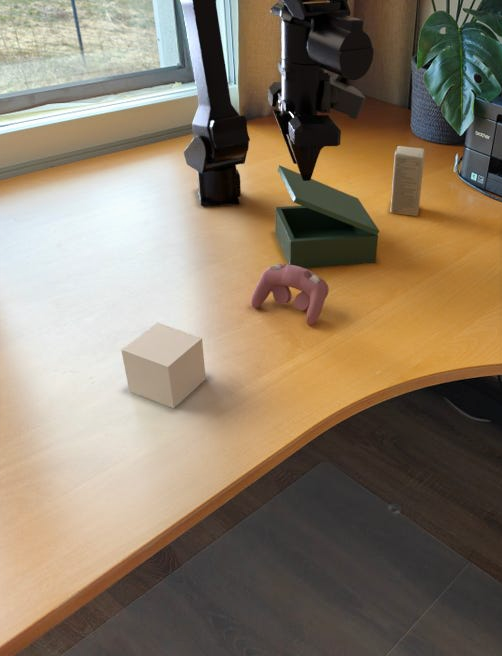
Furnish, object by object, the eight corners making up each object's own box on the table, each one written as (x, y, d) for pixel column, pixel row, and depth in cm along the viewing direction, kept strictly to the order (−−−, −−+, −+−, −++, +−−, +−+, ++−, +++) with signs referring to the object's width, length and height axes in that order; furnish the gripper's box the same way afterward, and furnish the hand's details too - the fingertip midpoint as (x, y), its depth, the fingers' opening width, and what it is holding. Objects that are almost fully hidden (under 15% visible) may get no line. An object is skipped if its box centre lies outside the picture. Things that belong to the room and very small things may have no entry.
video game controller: (324, 324, 92) (336, 276, 91) (311, 327, 88) (323, 276, 87) (261, 305, 94) (271, 257, 93) (246, 307, 90) (256, 256, 88)
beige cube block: (205, 378, 78) (202, 338, 75) (173, 408, 74) (168, 367, 70) (163, 362, 80) (157, 322, 76) (128, 391, 75) (121, 349, 71)
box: (419, 207, 123) (427, 148, 116) (417, 217, 119) (424, 157, 113) (391, 202, 123) (397, 144, 116) (388, 212, 119) (394, 152, 113)
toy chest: (290, 269, 100) (290, 241, 97) (275, 233, 108) (275, 206, 105) (375, 263, 105) (378, 235, 102) (355, 229, 113) (356, 203, 110)
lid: (293, 202, 93) (295, 197, 93) (277, 169, 102) (279, 165, 101) (377, 235, 101) (379, 231, 101) (356, 202, 110) (358, 198, 109)
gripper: (382, 81, 84) (372, 196, 93) (342, 43, 97) (337, 147, 106) (295, 79, 80) (294, 200, 89) (266, 39, 93) (268, 148, 103)
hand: (301, 171), depth 97 cm, fingers open, 6 cm apart
